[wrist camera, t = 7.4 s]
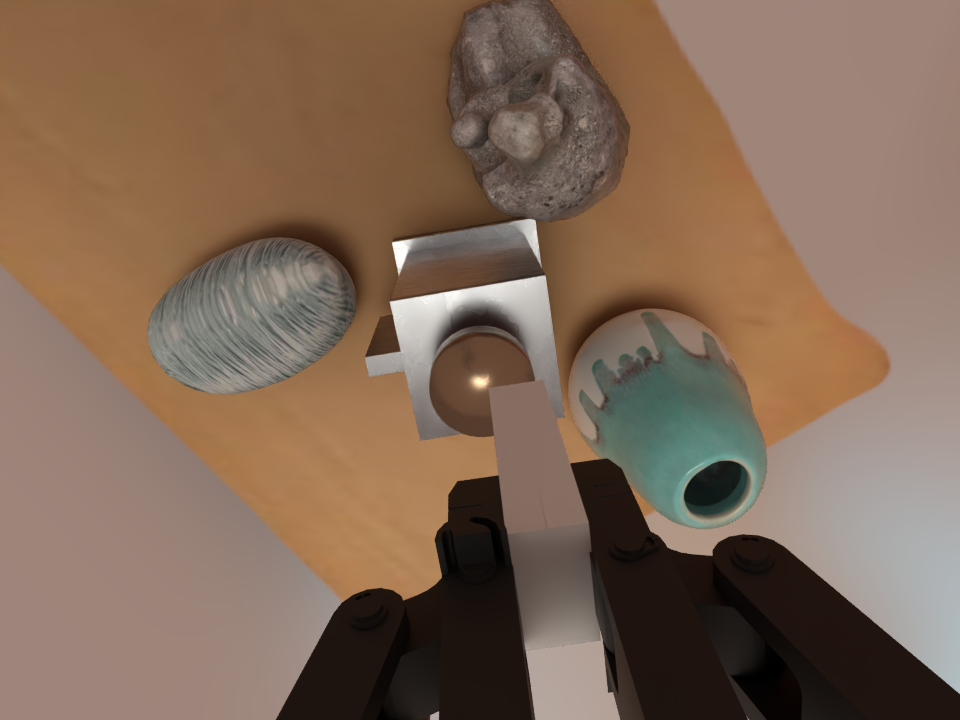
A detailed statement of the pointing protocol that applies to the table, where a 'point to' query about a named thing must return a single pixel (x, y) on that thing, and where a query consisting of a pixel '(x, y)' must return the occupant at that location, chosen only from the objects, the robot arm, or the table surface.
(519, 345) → the plunger
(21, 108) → the table surface
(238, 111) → the table surface
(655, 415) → the vase
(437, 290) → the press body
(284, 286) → the striped grey egg shape
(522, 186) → the figurine
